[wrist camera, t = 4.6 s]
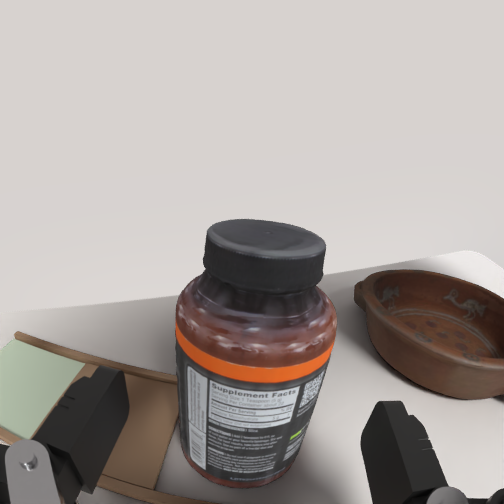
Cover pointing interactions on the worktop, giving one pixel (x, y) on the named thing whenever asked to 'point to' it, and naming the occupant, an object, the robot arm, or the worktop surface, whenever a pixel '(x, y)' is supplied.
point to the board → (52, 390)
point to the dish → (437, 330)
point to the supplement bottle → (252, 350)
